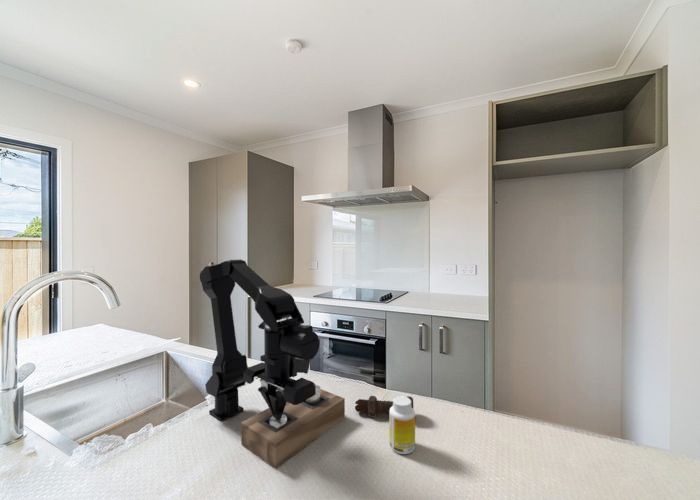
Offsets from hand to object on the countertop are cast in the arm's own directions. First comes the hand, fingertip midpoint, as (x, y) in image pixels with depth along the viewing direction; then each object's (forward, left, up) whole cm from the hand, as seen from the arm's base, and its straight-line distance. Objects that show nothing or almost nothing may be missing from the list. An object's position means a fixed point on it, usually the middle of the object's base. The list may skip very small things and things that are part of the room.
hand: (278, 418), depth 66 cm
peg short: (0, +11, -2) cm, 11 cm away
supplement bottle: (+23, +15, -6) cm, 28 cm away
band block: (0, +5, -5) cm, 8 cm away
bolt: (+14, +24, -6) cm, 28 cm away
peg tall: (0, 0, -5) cm, 5 cm away
